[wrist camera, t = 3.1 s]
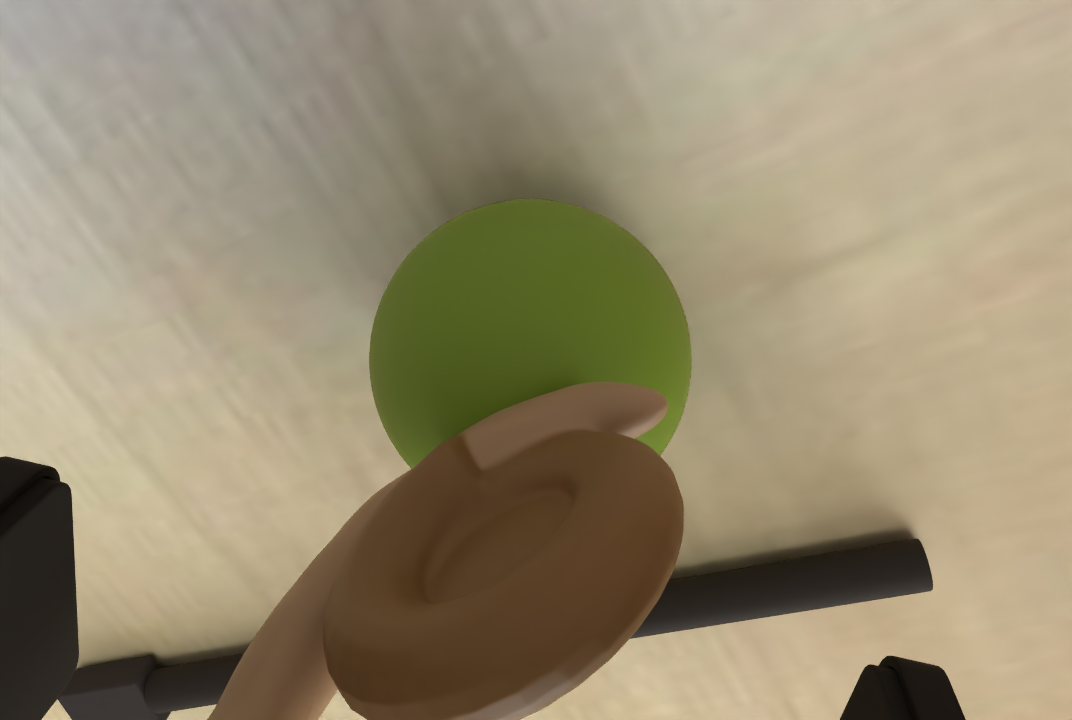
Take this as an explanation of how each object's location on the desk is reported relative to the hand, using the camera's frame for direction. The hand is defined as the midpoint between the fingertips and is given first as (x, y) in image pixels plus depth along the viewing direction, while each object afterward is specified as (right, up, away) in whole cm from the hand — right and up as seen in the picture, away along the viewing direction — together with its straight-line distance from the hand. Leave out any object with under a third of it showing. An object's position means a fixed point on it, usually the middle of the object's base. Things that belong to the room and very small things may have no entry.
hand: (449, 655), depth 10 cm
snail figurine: (+1, +4, +8) cm, 9 cm away
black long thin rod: (-1, -3, +11) cm, 12 cm away
